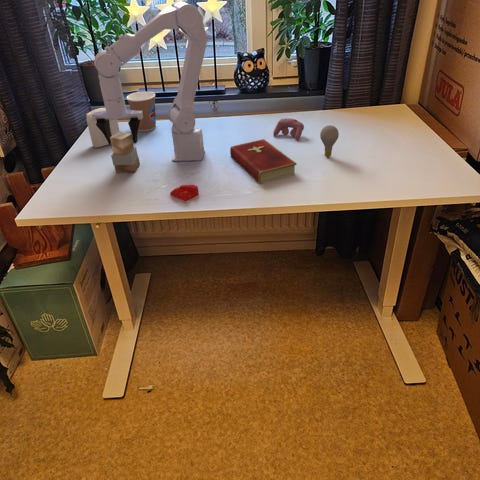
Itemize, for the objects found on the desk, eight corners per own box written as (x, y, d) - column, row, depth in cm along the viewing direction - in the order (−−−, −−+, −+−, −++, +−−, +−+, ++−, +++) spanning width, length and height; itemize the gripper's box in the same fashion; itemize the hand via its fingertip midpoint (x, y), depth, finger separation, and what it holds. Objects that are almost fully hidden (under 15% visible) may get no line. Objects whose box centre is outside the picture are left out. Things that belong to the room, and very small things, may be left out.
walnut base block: (140, 165, 140) (138, 156, 138) (135, 173, 135) (133, 164, 133) (121, 165, 140) (119, 156, 139) (116, 173, 135) (114, 165, 134)
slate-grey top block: (137, 156, 138) (136, 147, 136) (132, 164, 133) (130, 155, 131) (119, 156, 139) (117, 147, 137) (113, 165, 134) (111, 155, 132)
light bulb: (340, 156, 137) (342, 125, 131) (330, 162, 134) (332, 130, 128) (325, 151, 140) (327, 121, 134) (315, 157, 137) (317, 126, 131)
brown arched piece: (302, 142, 151) (306, 121, 150) (297, 140, 147) (302, 119, 146) (276, 137, 156) (281, 117, 154) (271, 136, 152) (275, 115, 150)
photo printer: (119, 138, 159) (111, 103, 152) (123, 141, 156) (116, 107, 149) (91, 145, 154) (82, 110, 147) (95, 149, 151) (86, 114, 144)
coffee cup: (157, 132, 161) (152, 99, 154) (130, 133, 162) (123, 100, 155) (162, 122, 170) (157, 90, 163) (135, 123, 170) (129, 92, 163)
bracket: (198, 196, 122) (197, 186, 120) (186, 203, 119) (184, 193, 117) (183, 189, 125) (181, 179, 123) (170, 196, 122) (168, 186, 121)
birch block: (134, 149, 135) (131, 134, 132) (124, 155, 132) (120, 139, 129) (123, 147, 137) (120, 131, 134) (113, 152, 134) (109, 137, 131)
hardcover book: (259, 185, 125) (258, 172, 123) (230, 158, 141) (229, 145, 139) (296, 175, 129) (296, 162, 126) (264, 150, 145) (263, 138, 142)
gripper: (141, 92, 128) (149, 136, 135) (93, 93, 129) (103, 137, 137) (135, 100, 122) (144, 146, 130) (84, 101, 123) (96, 147, 131)
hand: (123, 142), depth 133 cm, fingers open, 7 cm apart
